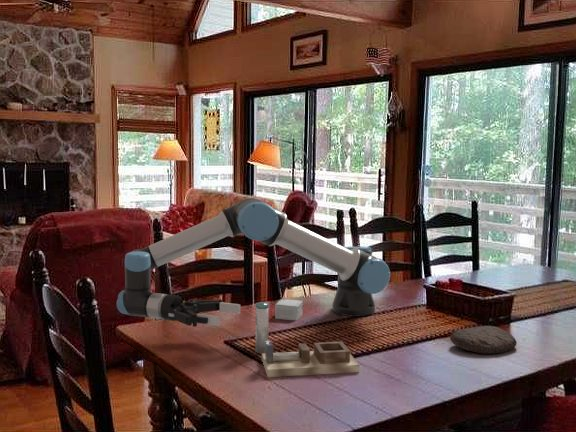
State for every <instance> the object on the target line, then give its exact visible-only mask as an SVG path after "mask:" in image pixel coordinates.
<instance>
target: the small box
mask: <svg viewBox="0 0 576 432" xmlns="http://www.w3.org/2000/svg"><path fill="white" fill-rule="evenodd" d="M303 303H304V302H303V300H300V299H299V300H296V299H288V298H287V299H284V298H282V299H280V300H279V301H277V302H276V303H275V305H274V306H275V308H274V317H275V319H277V320H289V321H298V319H299V318H300V317H302V316H303V307H304V306H303Z"/></svg>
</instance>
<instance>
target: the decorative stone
mask: <svg viewBox="0 0 576 432" xmlns="http://www.w3.org/2000/svg"><path fill="white" fill-rule="evenodd" d="M450 341H451V342H452V344H454V345H455V346H457V347H458V348H461V349H463V350H466V351H469V352H473V353H479V354H483V355H484V354H485V355H486V354H498V353H500V354H501V353H504V352H507V351H511V350H513V349H515V348H516V346H517V345H518V343H517V339H516V338H515V336H513V335H512V334H511V333H510V332H507V331H506V330H504V329H502V328H500V327H498V326H493V325H482V326H481V325H480V326H473V327H466V328H462V329H461V328H460V329H457V330H455V331H453V332H452V333H451V334H450Z"/></svg>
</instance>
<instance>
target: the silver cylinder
mask: <svg viewBox="0 0 576 432" xmlns="http://www.w3.org/2000/svg"><path fill="white" fill-rule="evenodd" d="M269 305H270V303H268V302H266V301H265V302H264V301H258V302H256V303H255V353H256V352H257V353H256V354H258V353H265V341H269V317H270V316H269V314H270V313H269V311H270V310H269Z"/></svg>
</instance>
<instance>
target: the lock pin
mask: <svg viewBox="0 0 576 432" xmlns="http://www.w3.org/2000/svg"><path fill="white" fill-rule="evenodd" d="M273 353H274V343H273V341H272V340H268V341H265V359H266V361H267V363H273V361H287V360H299V354H298V353H282V352H281V353H282V354H273Z"/></svg>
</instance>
